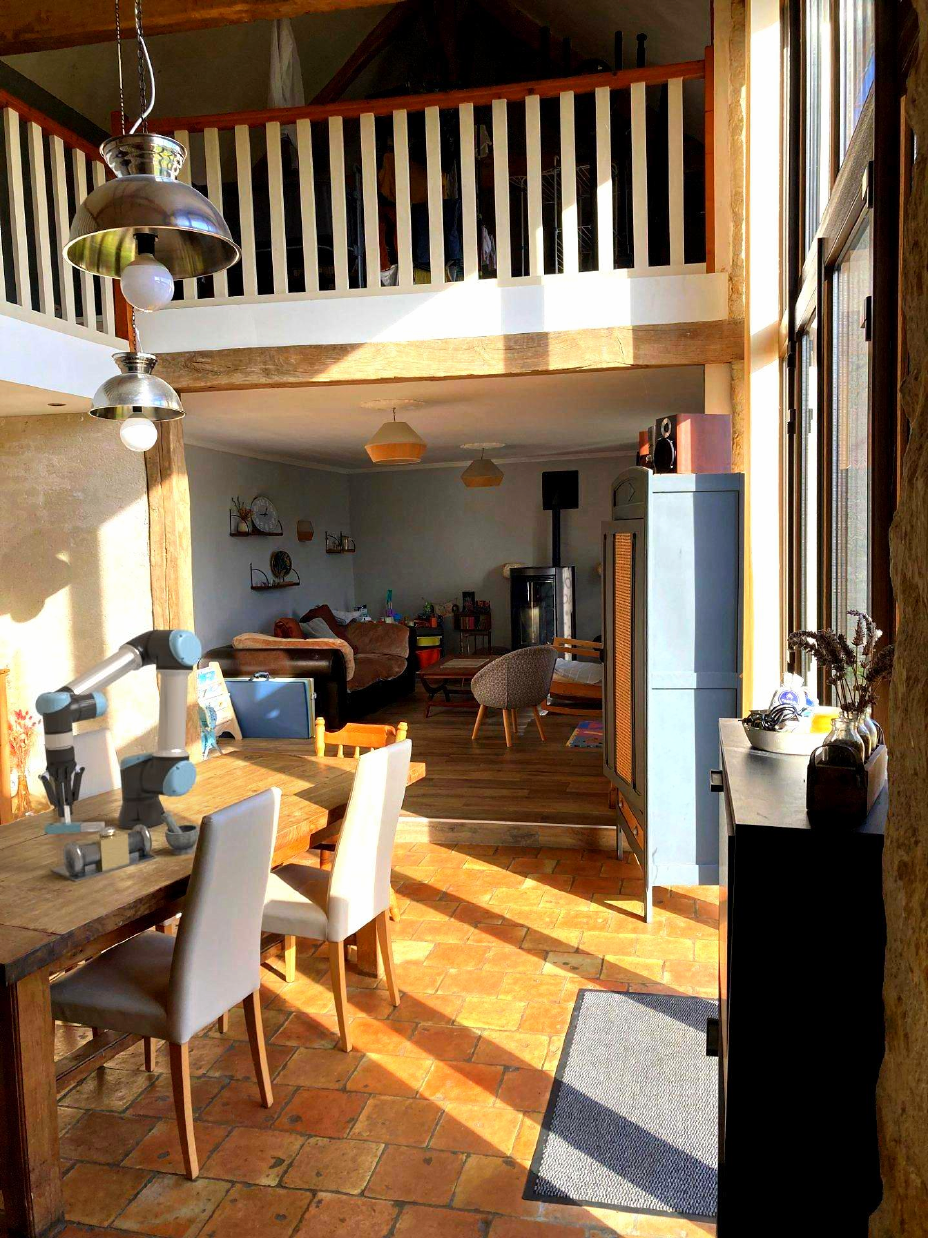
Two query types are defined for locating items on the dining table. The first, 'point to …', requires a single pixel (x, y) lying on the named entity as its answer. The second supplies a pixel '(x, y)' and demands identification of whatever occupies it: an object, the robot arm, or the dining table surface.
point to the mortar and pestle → (180, 835)
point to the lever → (79, 828)
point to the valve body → (105, 853)
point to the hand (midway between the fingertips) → (66, 827)
